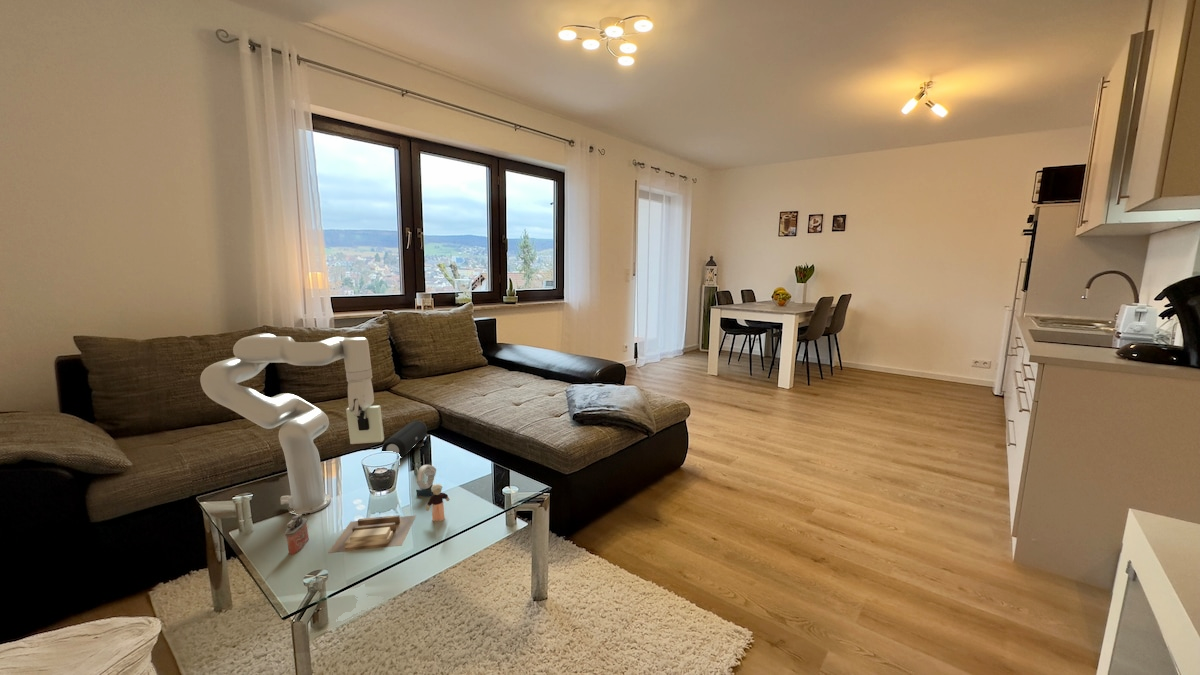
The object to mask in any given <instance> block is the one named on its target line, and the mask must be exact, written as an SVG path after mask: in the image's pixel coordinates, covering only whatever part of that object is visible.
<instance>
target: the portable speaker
mask: <svg viewBox="0 0 1200 675" xmlns="http://www.w3.org/2000/svg"><path fill="white" fill-rule="evenodd" d="M427 434H428V427H427V424H426V423H424V421H421V420H413V421H411V422H409V423H407V424H406V425H405V426H403V427H402V428H400V429H399V430H398V431H397V432H395V433H394V434H393V435H391V436H390V437H388V438H387V439H386V440H385V441H384V442H383V444H382V446H381V447H382V448H381V452H382V451H393V452H396V453H399V454H400V456H401V457H403V456H404V455H405V454H406V453H407V452H408V451H409V450H410V449H411V448H412V447H413V446H414V445H415V444H416V443H417V442H419V441H420V440H421V439H422V438H423V437H424V436H425V435H426V436H427ZM419 443H420V442H419ZM410 451H411V450H410ZM410 451H409V452H410ZM409 452H408V453H409ZM408 453H407V454H408ZM407 454H406V455H407ZM406 455H405V456H406ZM405 456H404V457H405ZM404 457H403V458H404Z"/></svg>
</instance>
